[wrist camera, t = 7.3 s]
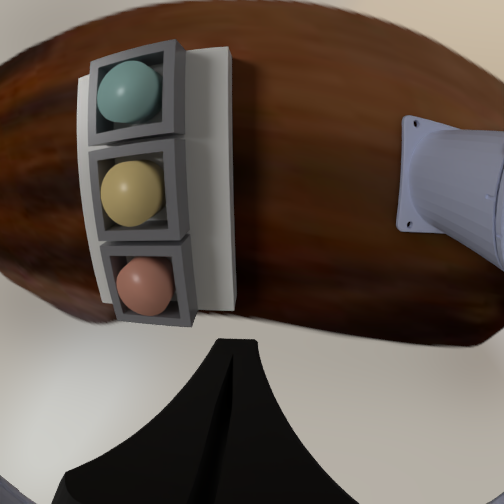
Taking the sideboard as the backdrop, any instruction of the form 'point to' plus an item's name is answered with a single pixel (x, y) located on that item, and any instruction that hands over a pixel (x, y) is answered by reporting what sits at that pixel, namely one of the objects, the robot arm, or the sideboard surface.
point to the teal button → (130, 93)
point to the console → (166, 180)
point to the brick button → (147, 284)
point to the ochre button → (133, 192)
